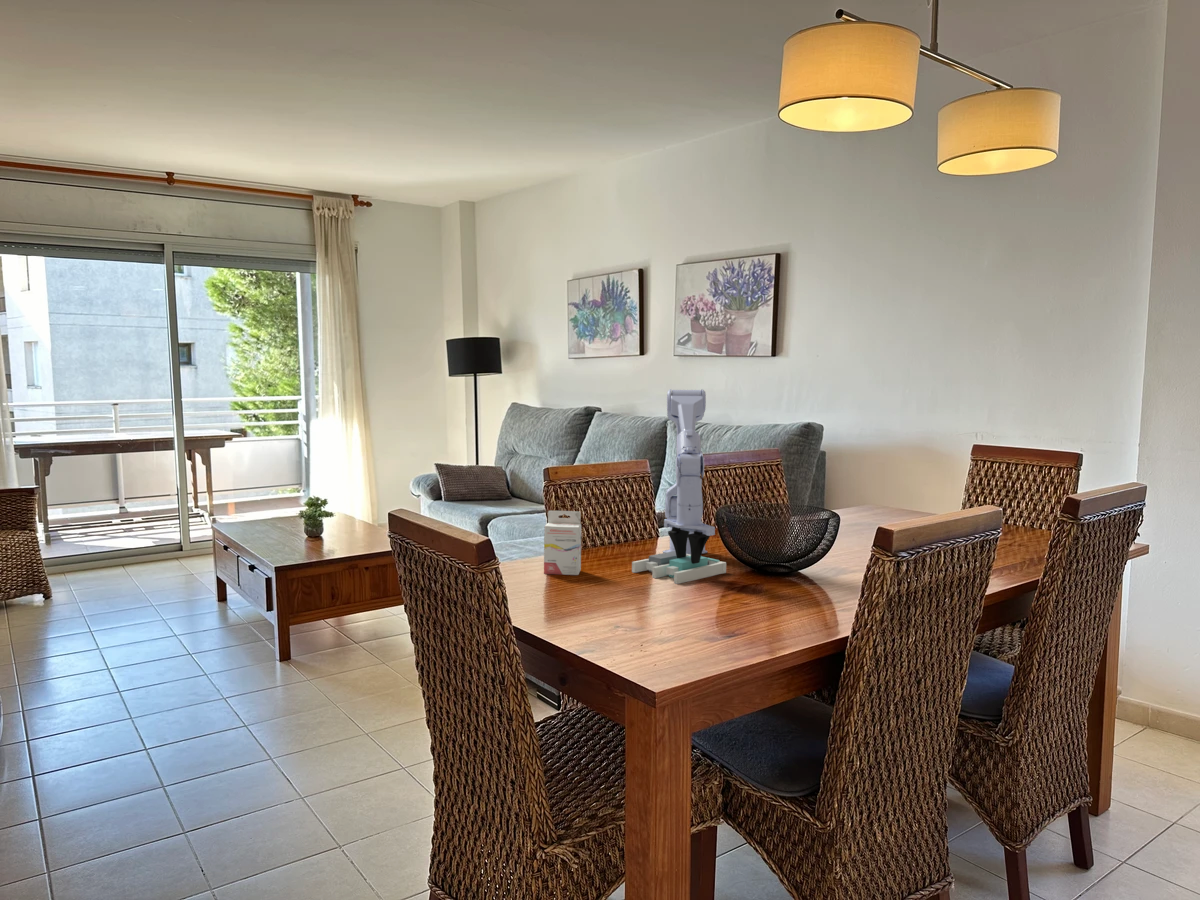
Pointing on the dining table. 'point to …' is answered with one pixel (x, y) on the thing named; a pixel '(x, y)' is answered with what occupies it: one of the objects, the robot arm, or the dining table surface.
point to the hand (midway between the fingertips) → (688, 561)
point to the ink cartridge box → (562, 543)
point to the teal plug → (684, 564)
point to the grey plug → (660, 559)
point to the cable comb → (685, 575)
